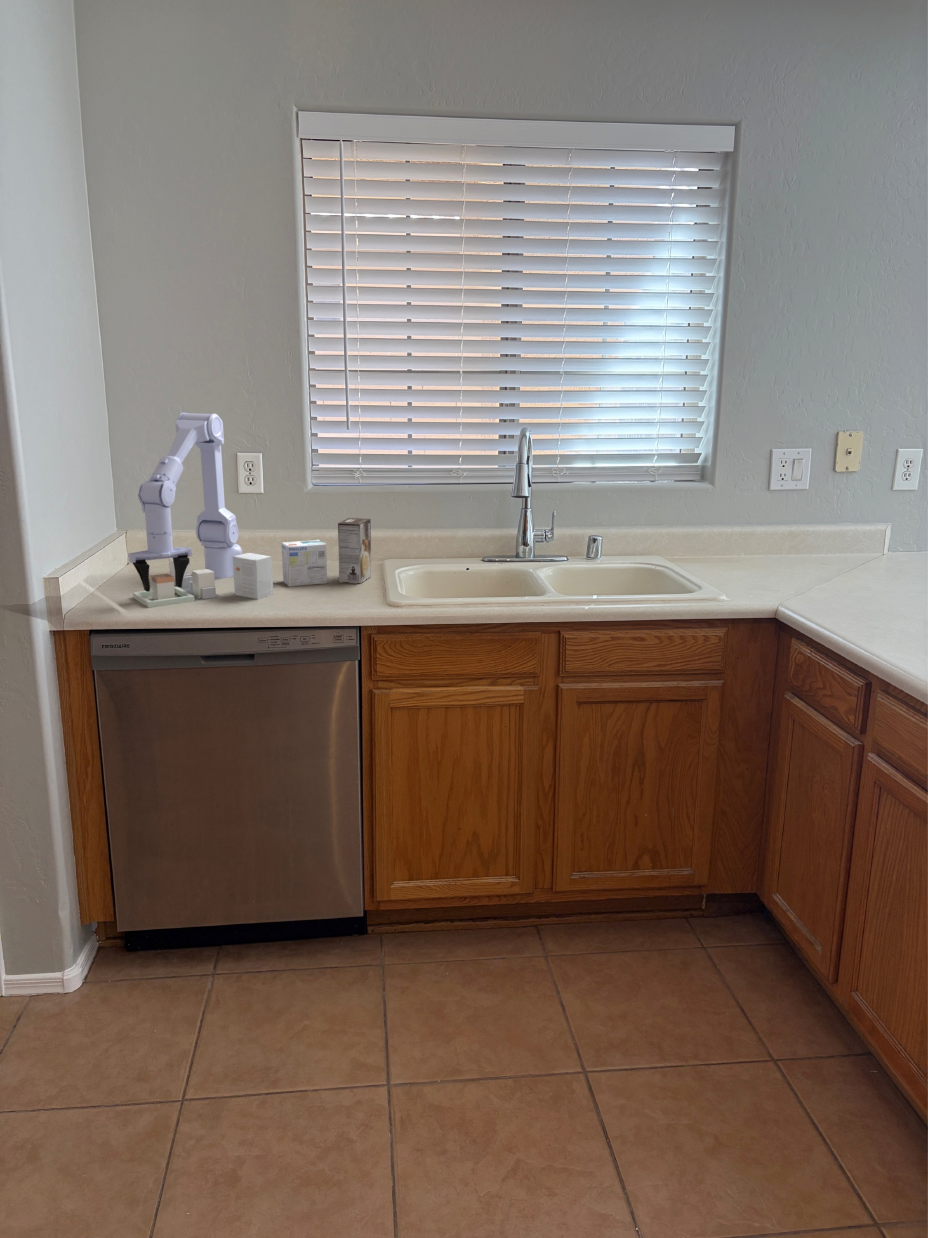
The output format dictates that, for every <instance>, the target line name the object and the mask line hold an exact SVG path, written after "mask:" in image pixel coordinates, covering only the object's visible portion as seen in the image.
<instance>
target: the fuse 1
mask: <svg viewBox="0 0 928 1238" xmlns="http://www.w3.org/2000/svg"><path fill="white" fill-rule="evenodd" d="M168 564H169V565H168V566H169V567H168V568H169V574H170V575H172V576H173V577H174V584H175V585H176V583H175V568H174V562H173V558H168ZM185 574H191V575H192V570H191V560H190V561H189V564H188V566H187V568H186V570H185V573H184V575H185Z"/></svg>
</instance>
